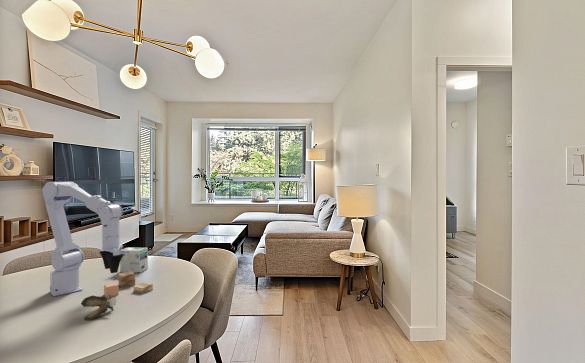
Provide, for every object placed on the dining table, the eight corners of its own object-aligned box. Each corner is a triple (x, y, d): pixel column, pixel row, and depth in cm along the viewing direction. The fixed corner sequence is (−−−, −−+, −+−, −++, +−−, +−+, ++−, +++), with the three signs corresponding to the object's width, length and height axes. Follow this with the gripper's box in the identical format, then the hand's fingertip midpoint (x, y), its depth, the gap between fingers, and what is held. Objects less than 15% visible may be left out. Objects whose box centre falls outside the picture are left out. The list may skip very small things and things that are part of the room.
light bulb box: (148, 268, 154) (148, 247, 154) (140, 273, 148) (140, 250, 147) (128, 268, 155) (128, 246, 155) (119, 272, 149) (119, 249, 149)
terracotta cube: (106, 297, 118) (106, 287, 117) (104, 294, 120) (104, 284, 120) (118, 295, 120) (118, 284, 120) (115, 292, 123) (115, 282, 123)
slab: (142, 294, 122) (142, 288, 122) (133, 292, 124) (133, 286, 124) (152, 290, 126) (152, 284, 126) (144, 288, 128) (144, 282, 128)
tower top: (121, 282, 128) (121, 276, 128) (118, 279, 132) (118, 273, 132) (134, 279, 132) (134, 273, 132) (130, 276, 135) (130, 271, 135)
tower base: (122, 288, 128) (122, 282, 128) (118, 285, 132) (118, 279, 132) (135, 285, 132) (135, 279, 132) (131, 282, 135) (131, 276, 135)
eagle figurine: (105, 303, 110) (77, 307, 102) (114, 287, 108) (86, 291, 101) (112, 320, 106) (84, 325, 98) (122, 304, 104) (93, 309, 97)
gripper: (128, 236, 118) (128, 272, 118) (116, 232, 128) (116, 264, 128) (107, 239, 113) (107, 276, 113) (97, 234, 123) (97, 268, 123)
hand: (111, 270), depth 120 cm, fingers open, 7 cm apart
